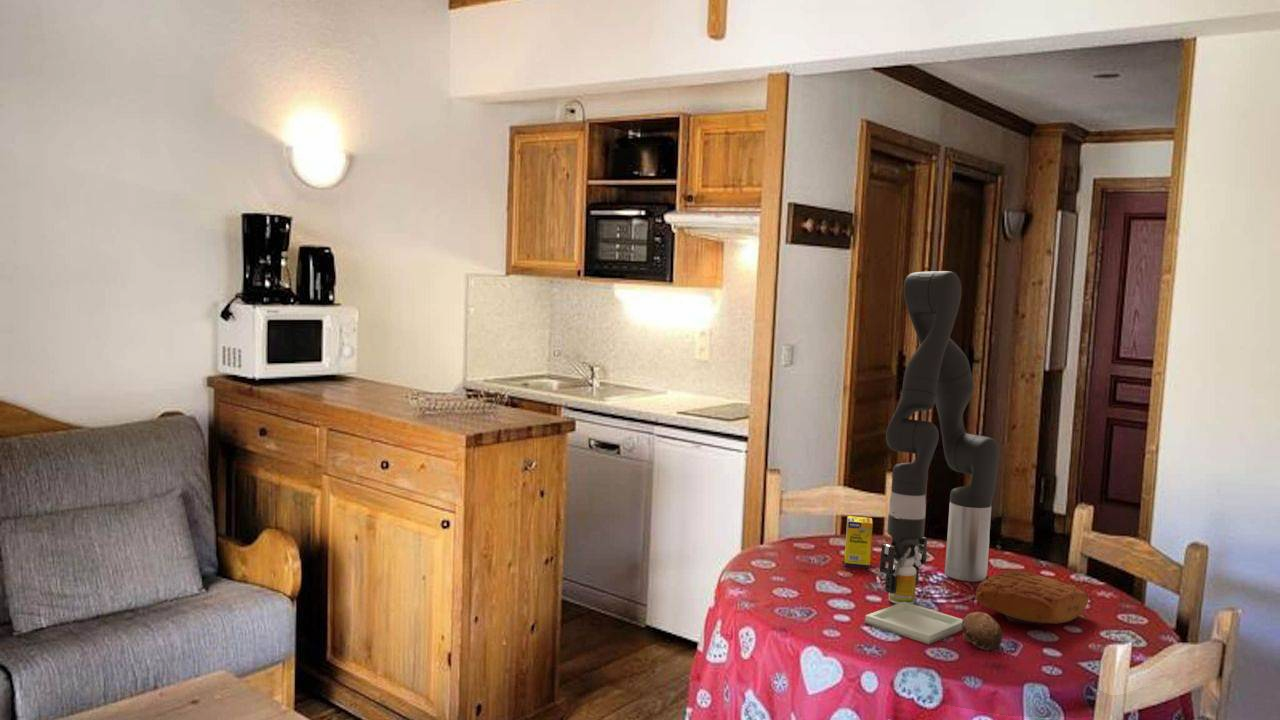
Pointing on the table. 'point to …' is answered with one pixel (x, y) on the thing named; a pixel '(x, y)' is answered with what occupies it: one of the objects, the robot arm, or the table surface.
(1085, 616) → the table surface
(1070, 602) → the clay tablet
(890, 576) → the robot arm
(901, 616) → the tray
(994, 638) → the mushroom
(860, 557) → the supplement box
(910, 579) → the supplement bottle
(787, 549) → the table surface
